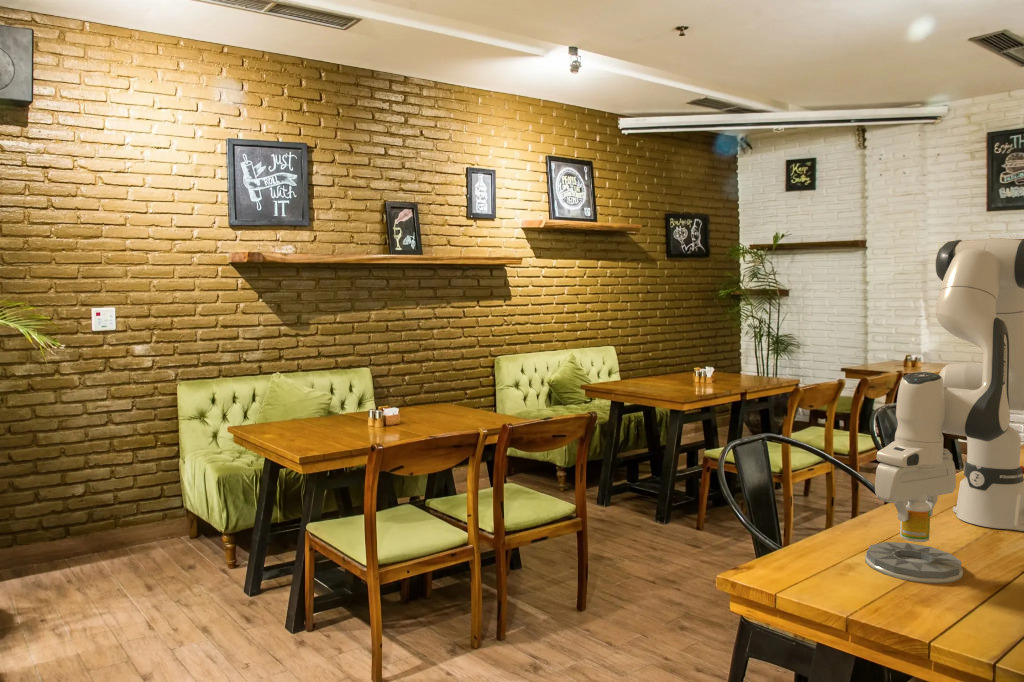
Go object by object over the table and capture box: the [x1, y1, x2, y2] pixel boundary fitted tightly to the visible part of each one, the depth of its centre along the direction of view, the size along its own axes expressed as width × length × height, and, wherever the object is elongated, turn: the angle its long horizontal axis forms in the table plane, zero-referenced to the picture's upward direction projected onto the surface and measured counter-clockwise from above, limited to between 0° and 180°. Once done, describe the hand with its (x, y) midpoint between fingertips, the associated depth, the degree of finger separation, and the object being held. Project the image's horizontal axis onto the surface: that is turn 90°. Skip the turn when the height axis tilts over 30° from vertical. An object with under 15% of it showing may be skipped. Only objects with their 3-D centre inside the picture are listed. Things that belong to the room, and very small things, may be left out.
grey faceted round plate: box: [864, 541, 964, 584], centre depth 161 cm, size 18×18×2 cm
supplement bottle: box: [899, 494, 931, 543], centre depth 160 cm, size 5×5×10 cm
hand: (915, 518), depth 160 cm, fingers closed on supplement bottle, 5 cm apart
